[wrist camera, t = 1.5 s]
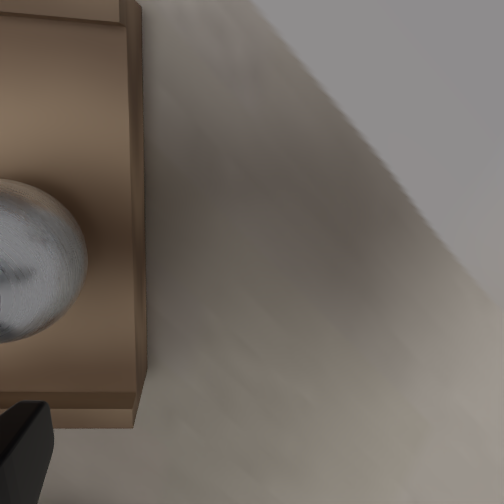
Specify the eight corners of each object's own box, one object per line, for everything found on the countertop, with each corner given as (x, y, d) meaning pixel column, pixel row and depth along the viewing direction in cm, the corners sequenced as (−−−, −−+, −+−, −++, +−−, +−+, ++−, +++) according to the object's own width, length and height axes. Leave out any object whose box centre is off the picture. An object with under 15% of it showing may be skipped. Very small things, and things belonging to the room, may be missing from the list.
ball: (107, 298, 17) (65, 381, 12) (-29, 294, 16) (-129, 379, 11) (100, 169, 15) (47, 208, 10) (-53, 160, 14) (-184, 196, 10)
